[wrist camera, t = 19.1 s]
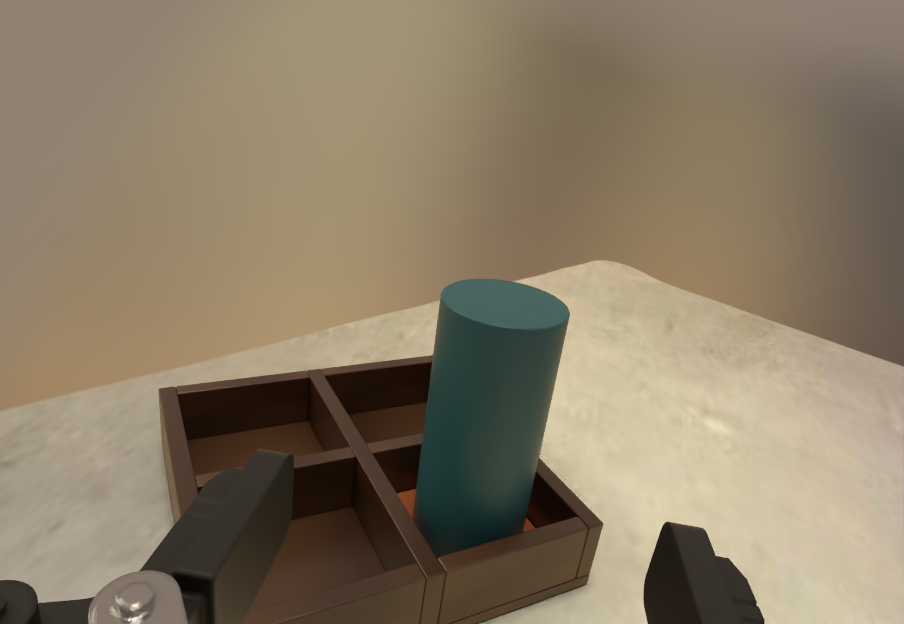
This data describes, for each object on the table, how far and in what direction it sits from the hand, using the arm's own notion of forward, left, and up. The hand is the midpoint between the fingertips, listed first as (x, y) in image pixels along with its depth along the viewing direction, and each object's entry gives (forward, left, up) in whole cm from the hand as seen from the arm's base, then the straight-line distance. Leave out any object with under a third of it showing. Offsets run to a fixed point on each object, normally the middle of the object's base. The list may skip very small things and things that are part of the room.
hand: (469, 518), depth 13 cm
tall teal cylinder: (+5, +7, -8) cm, 12 cm away
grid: (+2, +11, -9) cm, 14 cm away
